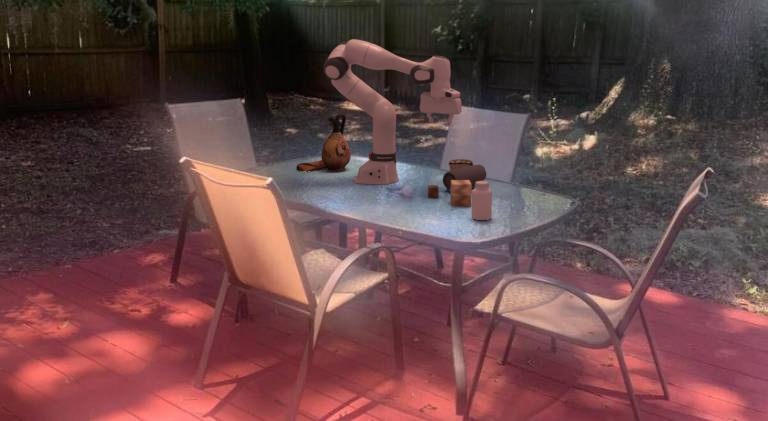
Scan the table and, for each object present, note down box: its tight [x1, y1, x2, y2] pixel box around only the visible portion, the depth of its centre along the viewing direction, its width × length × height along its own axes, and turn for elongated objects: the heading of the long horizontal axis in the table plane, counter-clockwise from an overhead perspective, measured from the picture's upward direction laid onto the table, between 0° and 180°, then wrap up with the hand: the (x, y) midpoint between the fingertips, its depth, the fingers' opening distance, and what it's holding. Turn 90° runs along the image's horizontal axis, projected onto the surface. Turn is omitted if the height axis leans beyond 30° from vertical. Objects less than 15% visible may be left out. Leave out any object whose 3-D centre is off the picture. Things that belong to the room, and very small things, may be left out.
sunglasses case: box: [295, 159, 327, 173], centre depth 365 cm, size 18×7×7 cm, turn 132°
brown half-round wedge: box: [447, 158, 474, 171], centre depth 337 cm, size 12×6×10 cm, turn 84°
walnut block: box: [427, 184, 440, 200], centre depth 306 cm, size 4×4×5 cm
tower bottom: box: [450, 192, 472, 208], centre depth 295 cm, size 8×8×5 cm
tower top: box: [450, 180, 473, 197], centre depth 293 cm, size 8×8×5 cm
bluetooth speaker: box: [442, 164, 487, 191], centre depth 322 cm, size 23×9×10 cm, turn 134°
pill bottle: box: [471, 180, 493, 221], centre depth 272 cm, size 8×8×15 cm
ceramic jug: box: [321, 113, 352, 173], centre depth 358 cm, size 17×15×30 cm
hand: (440, 123), depth 311 cm, fingers open, 8 cm apart
